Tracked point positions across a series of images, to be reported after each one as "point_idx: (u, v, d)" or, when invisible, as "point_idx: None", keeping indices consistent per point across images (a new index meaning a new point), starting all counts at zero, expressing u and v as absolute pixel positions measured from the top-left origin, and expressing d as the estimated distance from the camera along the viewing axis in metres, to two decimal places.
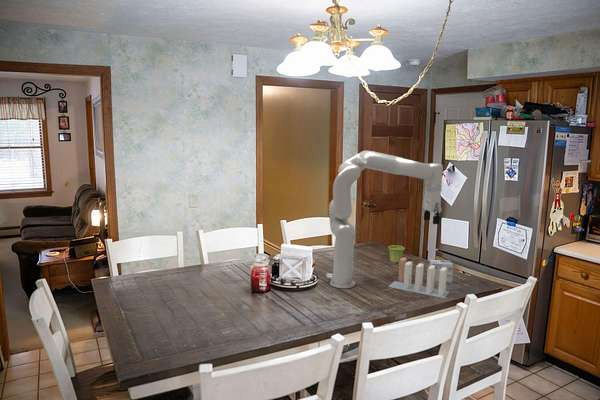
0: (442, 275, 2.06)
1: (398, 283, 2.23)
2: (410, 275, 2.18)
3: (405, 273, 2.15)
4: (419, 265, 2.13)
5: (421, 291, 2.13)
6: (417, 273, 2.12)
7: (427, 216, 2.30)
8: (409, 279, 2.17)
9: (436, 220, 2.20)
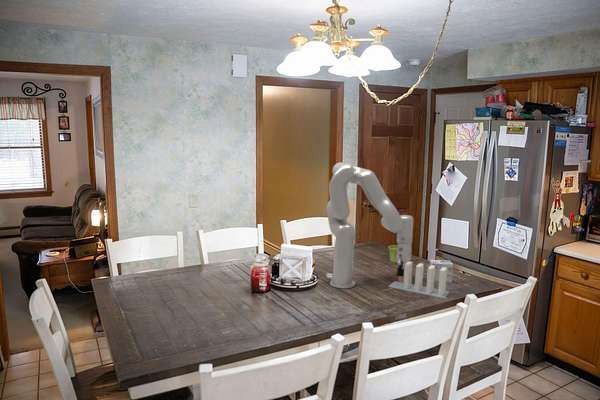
0: (442, 275, 2.06)
1: (398, 283, 2.23)
2: (410, 275, 2.18)
3: (405, 273, 2.15)
4: (419, 265, 2.13)
5: (421, 291, 2.13)
6: (417, 273, 2.12)
7: None
8: (409, 279, 2.17)
9: None
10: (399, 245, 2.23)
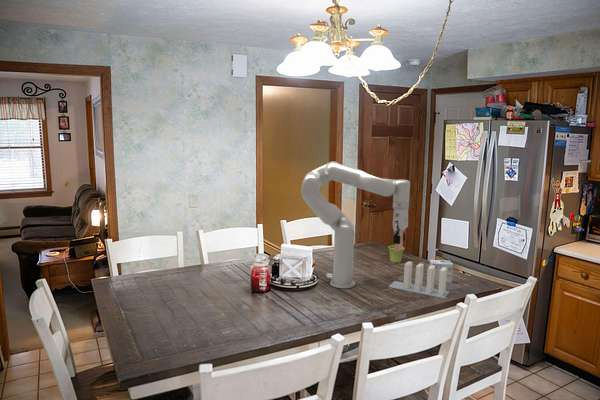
0: (442, 275, 2.06)
1: (398, 283, 2.23)
2: (410, 275, 2.18)
3: (405, 273, 2.15)
4: (419, 265, 2.13)
5: (421, 291, 2.13)
6: (417, 273, 2.12)
7: None
8: (409, 279, 2.17)
9: None
10: (395, 211, 2.13)
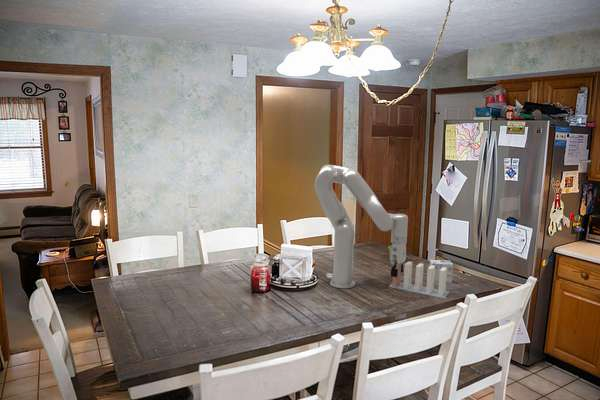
0: (442, 275, 2.06)
1: None
2: (410, 275, 2.18)
3: (405, 273, 2.15)
4: (419, 265, 2.13)
5: (421, 291, 2.13)
6: (417, 273, 2.12)
7: None
8: (409, 279, 2.17)
9: None
10: (393, 245, 2.15)
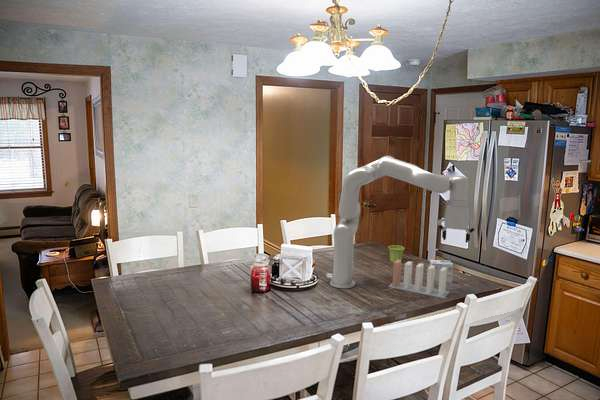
0: (442, 275, 2.06)
1: None
2: (410, 275, 2.18)
3: (405, 273, 2.15)
4: (419, 265, 2.13)
5: (421, 291, 2.13)
6: (417, 273, 2.12)
7: (445, 235, 2.06)
8: (409, 279, 2.17)
9: (469, 238, 2.01)
10: None
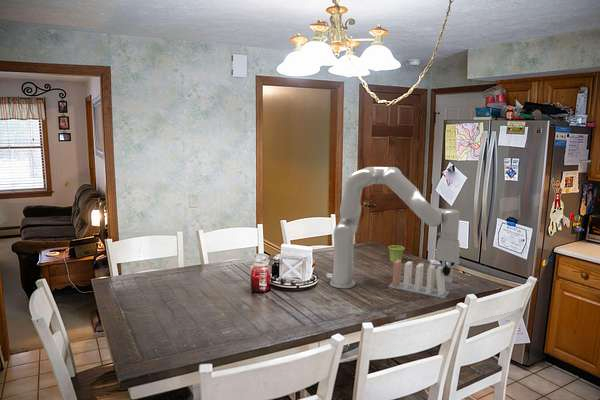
0: (439, 274, 2.07)
1: None
2: (410, 275, 2.18)
3: (405, 273, 2.15)
4: (419, 265, 2.13)
5: (421, 291, 2.13)
6: (417, 273, 2.12)
7: None
8: (409, 279, 2.17)
9: (449, 271, 2.07)
10: None
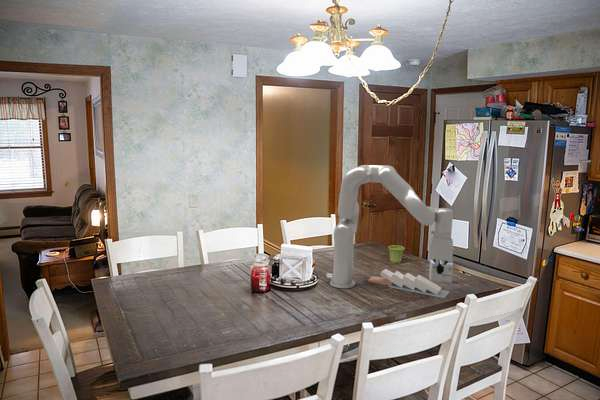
0: (419, 281, 2.12)
1: None
2: None
3: (388, 278, 2.20)
4: None
5: (421, 291, 2.13)
6: (398, 279, 2.17)
7: None
8: None
9: (443, 270, 2.08)
10: None
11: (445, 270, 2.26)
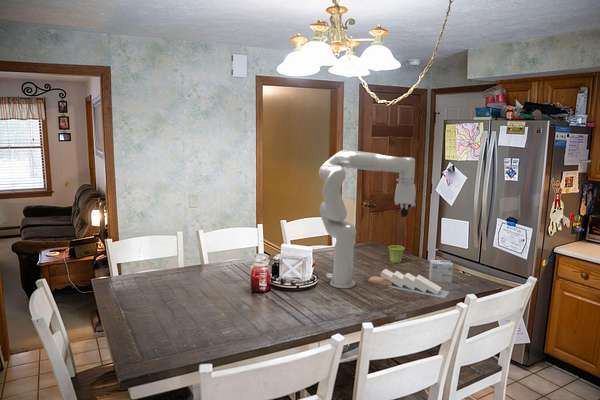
0: (419, 281, 2.12)
1: None
2: None
3: (388, 278, 2.20)
4: None
5: (421, 291, 2.13)
6: (398, 279, 2.17)
7: None
8: None
9: (407, 213, 2.33)
10: None
11: (445, 270, 2.26)
